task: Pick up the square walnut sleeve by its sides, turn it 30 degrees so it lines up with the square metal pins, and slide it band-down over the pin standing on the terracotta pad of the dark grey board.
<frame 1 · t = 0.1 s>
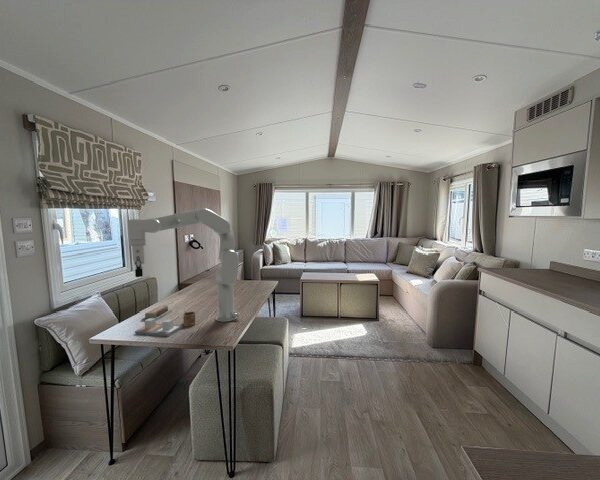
hand: (139, 275, 155), 31 cm above the table, tool pointing down, fingers open, 9 cm apart
pin board: (159, 331, 159), on the table
packaged product: (157, 316, 186), on the table
sleeve: (189, 323, 170), on the table
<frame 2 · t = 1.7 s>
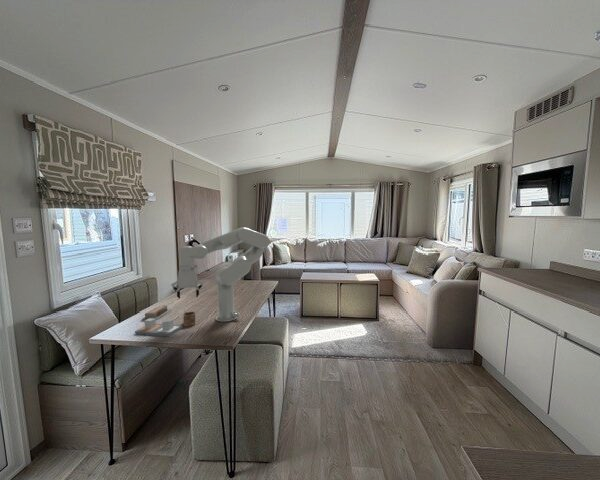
hand: (188, 297, 168), 15 cm above the table, tool pointing down, fingers open, 9 cm apart
nothing on the table moved.
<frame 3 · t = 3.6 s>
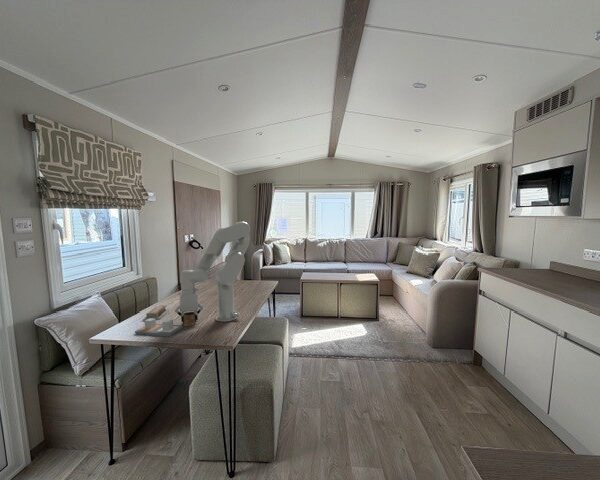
hand: (189, 321, 170), 1 cm above the table, tool pointing down, fingers closed on sleeve, 6 cm apart
sleeve: (189, 323, 170), on the table, touching gripper
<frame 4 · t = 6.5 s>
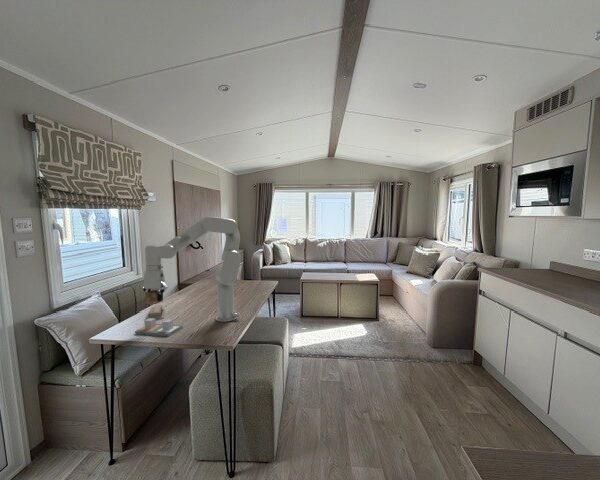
hand: (154, 300, 160), 16 cm above the table, tool pointing down, fingers closed on sleeve, 6 cm apart
sleeve: (154, 302, 160), point 15 cm above the table, touching gripper
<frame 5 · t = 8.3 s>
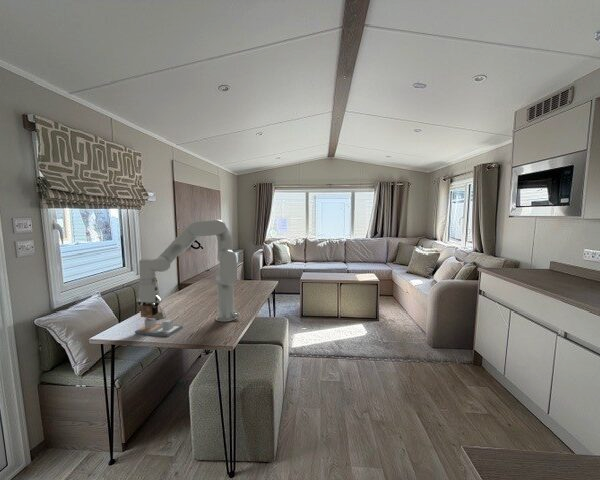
hand: (149, 313, 160), 9 cm above the table, tool pointing down, fingers closed on sleeve, 6 cm apart
sleeve: (149, 315, 160), point 8 cm above the table, touching gripper
when the fingers open (6 cm above the table, at t = 9.5 s): sleeve drops 3 cm, resting on pin board.
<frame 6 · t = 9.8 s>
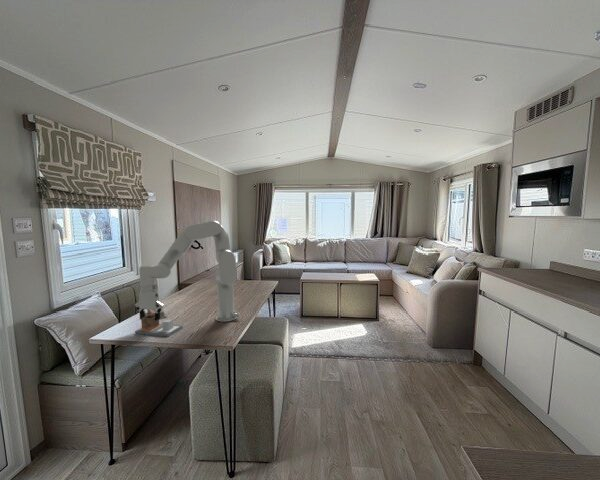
hand: (150, 319, 160), 6 cm above the table, tool pointing down, fingers open, 9 cm apart
sleeve: (150, 327, 160), point 2 cm above the table, touching pin board
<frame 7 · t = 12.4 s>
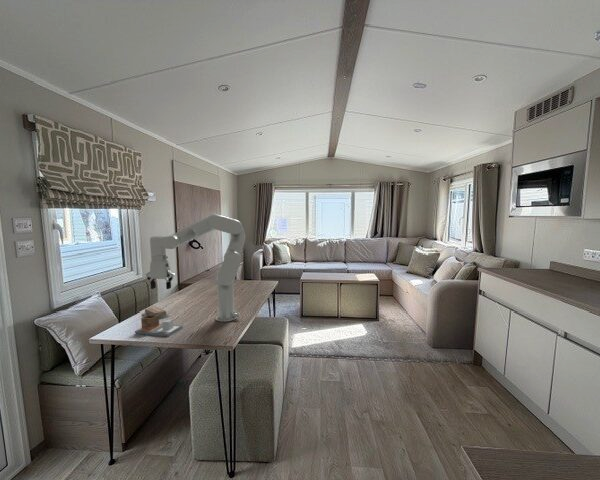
hand: (161, 288, 166), 21 cm above the table, tool pointing down, fingers open, 9 cm apart
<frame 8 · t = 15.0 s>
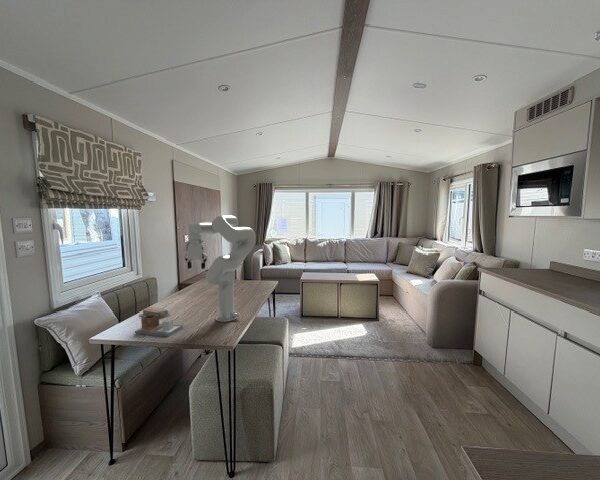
hand: (196, 268, 191), 28 cm above the table, tool pointing down, fingers open, 9 cm apart
at the end: sleeve 0.1 cm from the target spot on the pin board, point 1.6 cm above the pin board's base; sleeve tilted 0°; the gripper is holding nothing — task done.
